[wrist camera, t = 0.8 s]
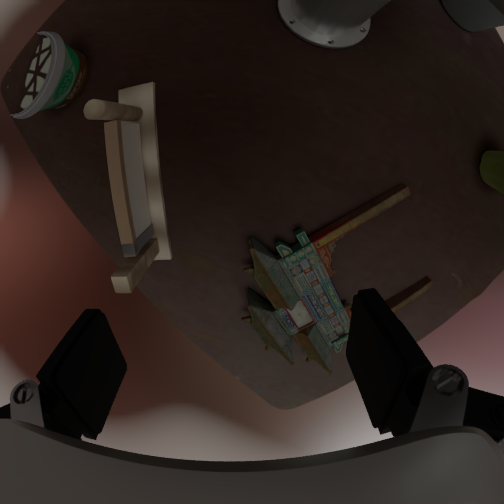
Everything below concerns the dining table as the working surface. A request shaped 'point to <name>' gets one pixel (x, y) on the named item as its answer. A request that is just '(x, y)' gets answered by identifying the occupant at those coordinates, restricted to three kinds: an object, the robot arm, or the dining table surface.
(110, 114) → the gate frame
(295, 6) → the robot arm
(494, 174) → the plant pot
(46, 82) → the food container
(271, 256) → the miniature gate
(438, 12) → the dining table surface
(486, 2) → the water bottle
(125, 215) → the panel
